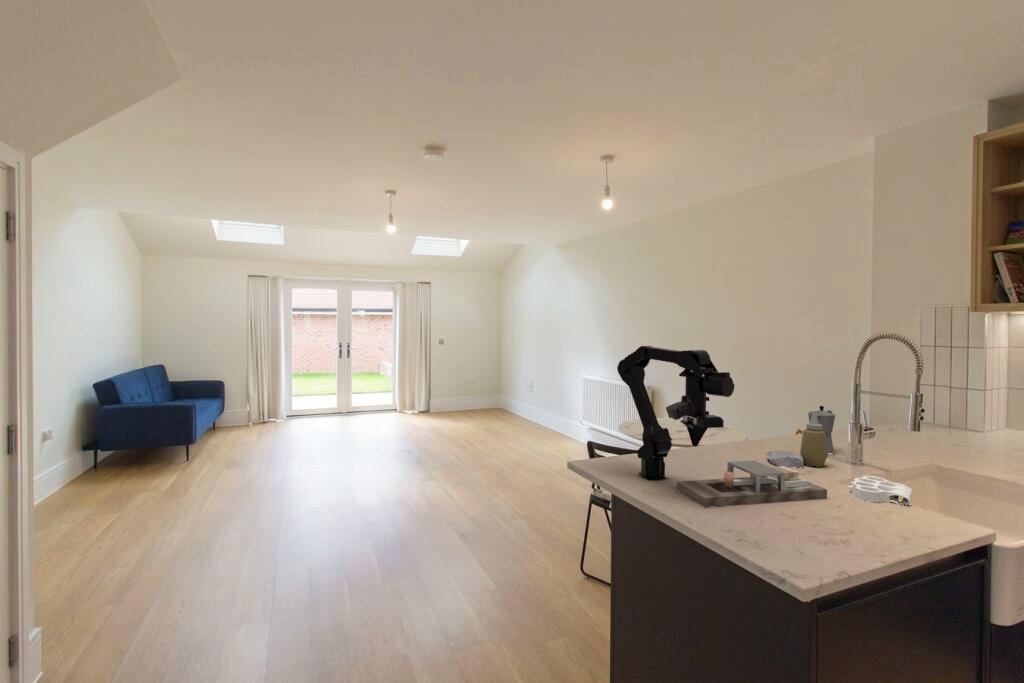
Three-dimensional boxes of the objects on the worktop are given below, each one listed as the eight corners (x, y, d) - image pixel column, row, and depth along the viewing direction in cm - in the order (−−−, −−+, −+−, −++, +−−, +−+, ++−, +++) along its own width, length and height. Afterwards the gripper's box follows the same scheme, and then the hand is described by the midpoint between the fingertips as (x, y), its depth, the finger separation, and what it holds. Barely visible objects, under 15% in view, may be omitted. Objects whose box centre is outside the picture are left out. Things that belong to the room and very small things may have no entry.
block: (780, 487, 137) (780, 473, 136) (765, 480, 142) (765, 467, 142) (798, 485, 138) (798, 472, 138) (782, 479, 144) (783, 466, 144)
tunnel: (756, 493, 131) (756, 474, 131) (727, 479, 144) (727, 461, 143) (784, 491, 133) (785, 472, 133) (753, 477, 145) (754, 460, 145)
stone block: (775, 472, 166) (807, 468, 164) (772, 458, 166) (804, 454, 164) (764, 464, 177) (793, 460, 176) (761, 451, 177) (790, 447, 176)
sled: (734, 490, 132) (734, 477, 132) (716, 481, 141) (716, 468, 140) (807, 485, 137) (807, 473, 137) (784, 476, 145) (785, 464, 145)
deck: (704, 507, 128) (705, 498, 127) (676, 489, 141) (676, 481, 141) (826, 498, 135) (827, 489, 135) (788, 482, 149) (789, 474, 149)
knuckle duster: (908, 511, 127) (841, 497, 137) (913, 494, 140) (852, 483, 150) (908, 498, 127) (841, 485, 137) (913, 483, 140) (852, 472, 150)
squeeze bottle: (826, 464, 169) (828, 413, 169) (827, 469, 162) (828, 416, 162) (800, 460, 174) (801, 411, 173) (799, 466, 167) (800, 414, 166)
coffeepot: (826, 457, 178) (827, 409, 177) (799, 452, 186) (800, 405, 185) (843, 451, 187) (845, 405, 186) (817, 446, 195) (818, 402, 194)
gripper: (654, 389, 148) (653, 439, 148) (688, 398, 130) (687, 455, 130) (687, 388, 150) (686, 438, 151) (725, 397, 132) (724, 453, 132)
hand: (694, 446), depth 141 cm, fingers closed
